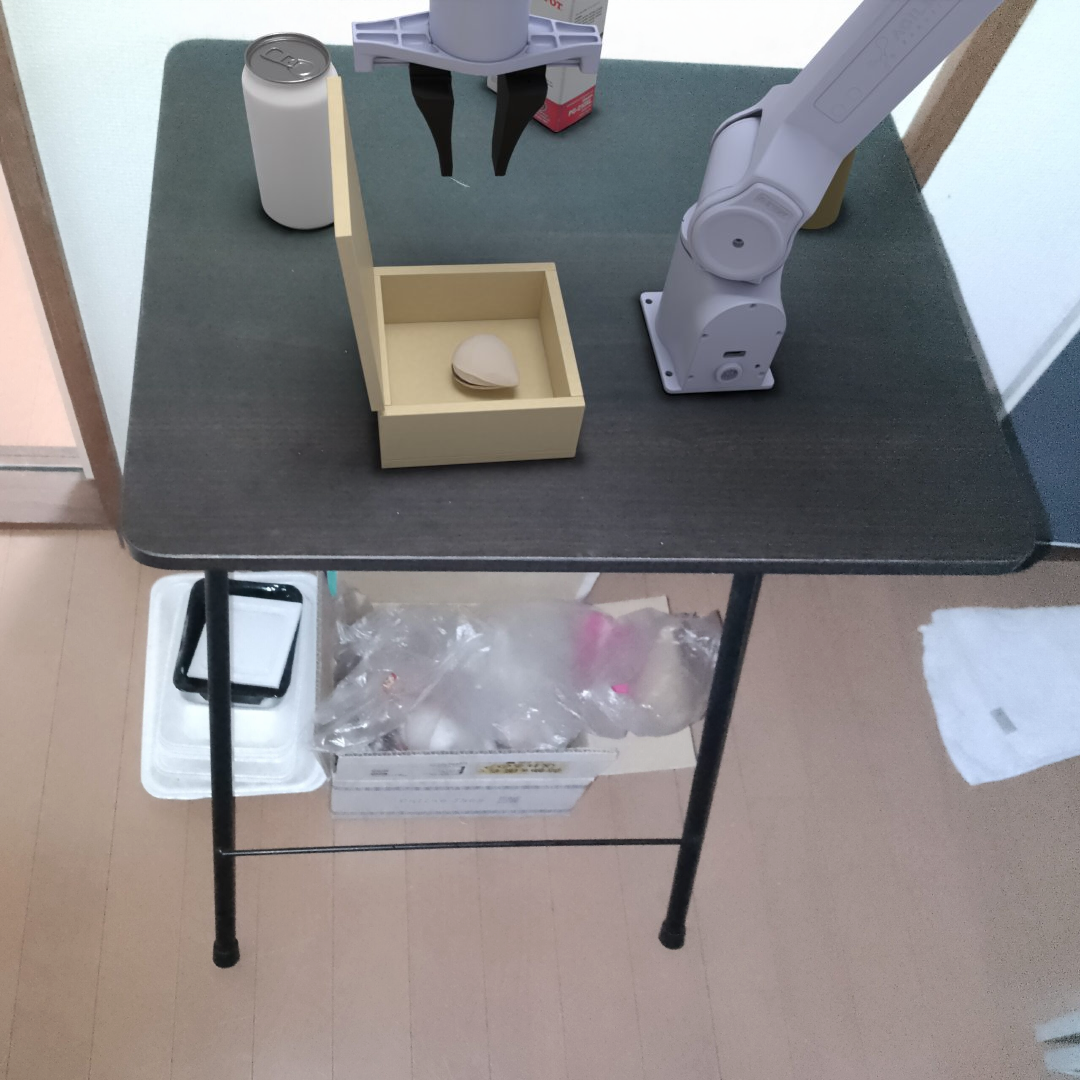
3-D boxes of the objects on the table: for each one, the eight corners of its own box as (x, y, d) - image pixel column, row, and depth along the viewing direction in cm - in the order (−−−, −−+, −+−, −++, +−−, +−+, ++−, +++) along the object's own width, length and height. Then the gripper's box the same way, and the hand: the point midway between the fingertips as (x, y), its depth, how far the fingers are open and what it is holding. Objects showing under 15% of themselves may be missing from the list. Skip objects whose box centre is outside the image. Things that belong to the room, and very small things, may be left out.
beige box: (546, 317, 72) (554, 261, 67) (574, 457, 65) (585, 405, 61) (370, 324, 70) (367, 266, 65) (381, 468, 63) (378, 416, 59)
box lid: (340, 75, 54) (326, 76, 54) (351, 235, 47) (334, 236, 47) (372, 261, 65) (360, 262, 65) (385, 410, 58) (371, 411, 58)
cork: (817, 240, 79) (869, 118, 70) (753, 204, 81) (795, 81, 72) (851, 203, 82) (905, 81, 73) (788, 170, 84) (834, 47, 74)
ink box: (594, 112, 85) (617, -27, 75) (555, 135, 83) (573, -5, 73) (522, 65, 88) (535, -75, 78) (483, 86, 86) (491, -55, 76)
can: (312, 245, 73) (294, 98, 63) (243, 208, 75) (216, 58, 65) (365, 200, 77) (357, 53, 66) (299, 165, 78) (281, 16, 68)
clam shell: (477, 343, 69) (479, 316, 67) (536, 378, 68) (539, 352, 65) (439, 379, 67) (439, 353, 65) (498, 416, 65) (501, 391, 63)
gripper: (599, -80, 57) (569, 127, 69) (343, -87, 55) (357, 128, 66) (622, -11, 54) (587, 195, 65) (349, -17, 51) (363, 199, 63)
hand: (472, 166), depth 65 cm, fingers open, 3 cm apart
